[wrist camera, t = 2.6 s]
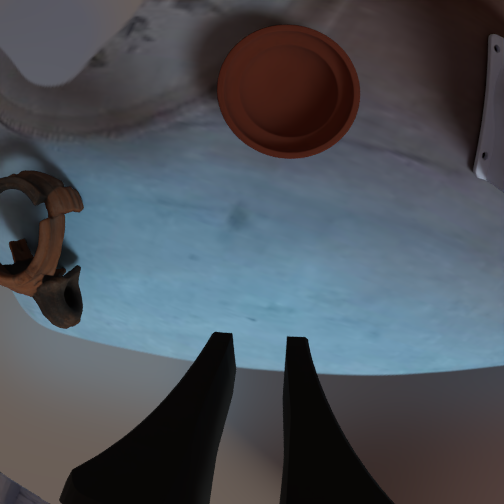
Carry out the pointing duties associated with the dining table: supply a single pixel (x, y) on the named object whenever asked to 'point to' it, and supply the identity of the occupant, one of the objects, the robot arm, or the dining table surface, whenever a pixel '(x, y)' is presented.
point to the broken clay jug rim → (45, 251)
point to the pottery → (288, 91)
